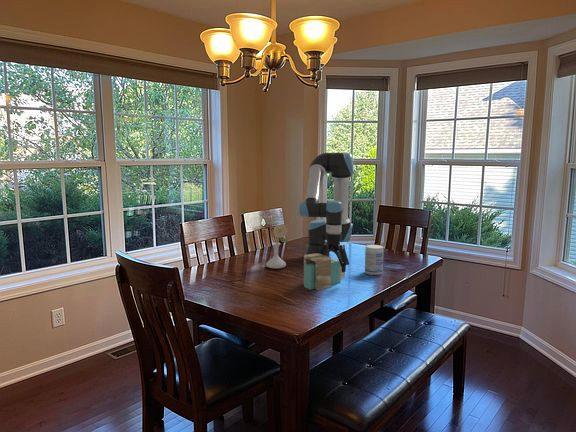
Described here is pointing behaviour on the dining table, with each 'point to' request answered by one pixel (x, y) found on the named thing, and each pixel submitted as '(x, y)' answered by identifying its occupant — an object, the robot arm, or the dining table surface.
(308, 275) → the beige-capped teal block
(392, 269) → the dining table surface
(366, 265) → the supplement tub
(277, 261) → the flower in vase
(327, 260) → the tunnel
